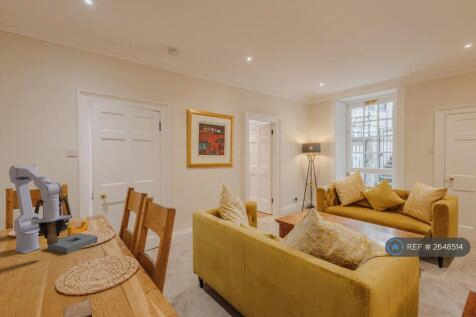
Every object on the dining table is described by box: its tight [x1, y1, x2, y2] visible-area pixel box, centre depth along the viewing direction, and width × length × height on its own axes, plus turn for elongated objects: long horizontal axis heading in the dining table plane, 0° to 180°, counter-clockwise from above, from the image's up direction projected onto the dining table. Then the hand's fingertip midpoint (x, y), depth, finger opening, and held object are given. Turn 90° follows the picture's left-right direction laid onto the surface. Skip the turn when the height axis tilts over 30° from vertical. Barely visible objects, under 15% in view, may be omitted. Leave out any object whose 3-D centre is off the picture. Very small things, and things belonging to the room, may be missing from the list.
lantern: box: [33, 192, 73, 236], centre depth 145 cm, size 20×16×30 cm
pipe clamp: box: [66, 220, 89, 237], centre depth 140 cm, size 12×4×6 cm, turn 171°
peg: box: [46, 223, 59, 246], centre depth 109 cm, size 4×4×9 cm
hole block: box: [47, 233, 99, 255], centre depth 123 cm, size 16×16×3 cm
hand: (52, 236), depth 109 cm, fingers closed on peg, 4 cm apart
